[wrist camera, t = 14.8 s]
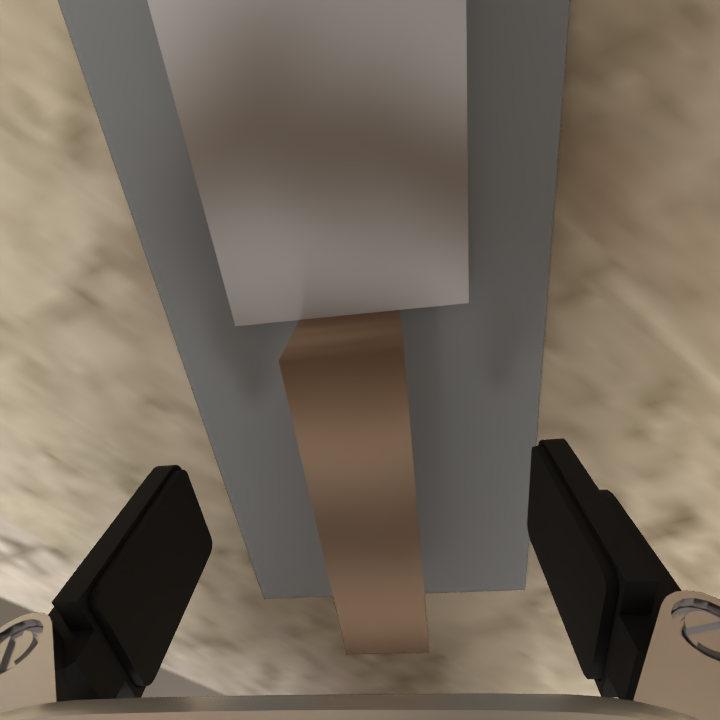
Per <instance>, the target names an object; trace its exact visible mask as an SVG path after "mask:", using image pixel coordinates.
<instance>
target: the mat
mask: <svg viewBox="0 0 720 720" xmlns="http://www.w3.org/2000/svg"><path fill="white" fill-rule="evenodd" d="M58 2H59V5H60V8H61V11H62V14H63V17H64V20H65V23H66V25H67V28H68V31H69V34H70V37H71V40H72V43H73V46H74V49H75V52H76V54H77V57H78V60H79V63H80V66H81V69H82V72H83V75H84V78H85V81H86V83H87V86H88V89H89V92H90V95H91V98H92V101H93V104H94V107H95V110H96V112H97V115H98V118H99V121H100V124H101V127H102V130H103V133H104V136H105V139H106V141H107V144H108V147H109V150H110V153H111V156H112V159H113V162H114V165H115V168H116V170H117V173H118V176H119V179H120V182H121V185H122V188H123V191H124V194H125V197H126V200H127V202H128V205H129V208H130V211H131V214H132V217H133V220H134V223H135V226H136V229H137V231H138V234H139V237H140V240H141V243H142V246H143V249H144V252H145V255H146V258H147V260H148V263H149V266H150V269H151V272H152V275H153V278H154V281H155V284H156V287H157V289H158V292H159V295H160V298H161V301H162V304H163V307H164V310H165V313H166V316H167V318H168V321H169V324H170V327H171V330H172V333H173V336H174V339H175V342H176V345H177V347H178V350H179V353H180V356H181V359H182V362H183V365H184V368H185V371H186V374H187V377H188V379H189V382H190V385H191V388H192V391H193V394H194V397H195V400H196V403H197V406H198V408H199V411H200V414H201V417H202V420H203V423H204V426H205V429H206V432H207V435H208V437H209V440H210V443H211V446H212V449H213V452H214V455H215V458H216V461H217V464H218V466H219V469H220V472H221V475H222V478H223V481H224V484H225V487H226V490H227V493H228V495H229V498H230V501H231V504H232V507H233V510H234V513H235V516H236V519H237V522H238V525H239V527H240V530H241V533H242V536H243V539H244V542H245V545H246V548H247V551H248V554H249V556H250V559H251V562H252V565H253V568H254V571H255V574H256V577H257V580H258V583H259V585H260V588H261V591H262V594H263V597H264V599H271V598H300V597H330V596H333V594H332V590H331V585H330V581H329V577H328V572H327V568H326V564H325V560H324V555H323V551H322V547H321V542H320V538H319V534H318V529H317V525H316V521H315V516H314V512H313V508H312V503H311V499H310V495H309V490H308V486H307V482H306V477H305V473H304V469H303V464H302V460H301V456H300V451H299V447H298V443H297V438H296V434H295V430H294V426H293V421H292V417H291V413H290V408H289V404H288V400H287V395H286V391H285V387H284V382H283V378H282V374H281V369H280V365H279V359H280V357H281V355H282V353H283V352H284V350H285V348H286V346H287V344H288V342H289V340H290V338H291V336H292V334H293V332H294V330H295V328H296V326H297V324H298V322H299V320H293V321H283V322H273V323H263V324H253V325H243V326H235V323H234V319H233V315H232V312H231V308H230V304H229V301H228V297H227V293H226V290H225V286H224V282H223V278H222V275H221V271H220V267H219V264H218V260H217V256H216V253H215V249H214V245H213V242H212V238H211V234H210V230H209V227H208V223H207V219H206V216H205V212H204V208H203V205H202V201H201V197H200V194H199V190H198V186H197V182H196V179H195V175H194V171H193V168H192V164H191V160H190V157H189V153H188V149H187V145H186V142H185V138H184V134H183V131H182V127H181V123H180V120H179V116H178V112H177V109H176V105H175V101H174V97H173V94H172V90H171V86H170V83H169V79H168V75H167V72H166V68H165V64H164V61H163V57H162V53H161V49H160V46H159V42H158V38H157V35H156V31H155V27H154V24H153V20H152V16H151V13H150V9H149V5H148V1H147V0H58ZM569 8H570V0H466V31H467V149H468V266H469V303H464V304H454V305H444V306H434V307H424V308H414V309H403V310H400V319H401V328H402V337H403V346H404V357H405V369H406V381H407V393H408V405H409V417H410V429H411V441H412V453H413V464H414V476H415V488H416V500H417V512H418V524H419V536H420V548H421V560H422V572H423V584H424V593H449V592H479V591H509V590H525V584H526V571H527V558H528V545H529V534H528V528H527V517H528V500H529V484H530V467H531V451H532V447H533V446H536V440H537V427H538V414H539V401H540V388H541V375H542V362H543V348H544V335H545V322H546V309H547V296H548V283H549V270H550V257H551V244H552V231H553V218H554V204H555V191H556V178H557V165H558V152H559V139H560V126H561V113H562V100H563V87H564V74H565V60H566V47H567V34H568V21H569Z"/></svg>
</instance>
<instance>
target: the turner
mask: <svg viewBox="0 0 720 720" xmlns="http://www.w3.org/2000/svg"><path fill="white" fill-rule="evenodd" d="M147 1H148V5H149V9H150V13H151V16H152V20H153V24H154V27H155V31H156V35H157V38H158V42H159V46H160V49H161V53H162V57H163V61H164V64H165V68H166V72H167V75H168V79H169V83H170V86H171V90H172V94H173V97H174V101H175V105H176V109H177V112H178V116H179V120H180V123H181V127H182V131H183V134H184V138H185V142H186V145H187V149H188V153H189V157H190V160H191V164H192V168H193V171H194V175H195V179H196V182H197V186H198V190H199V194H200V197H201V201H202V205H203V208H204V212H205V216H206V219H207V223H208V227H209V230H210V234H211V238H212V242H213V245H214V249H215V253H216V256H217V260H218V264H219V267H220V271H221V275H222V278H223V282H224V286H225V290H226V293H227V297H228V301H229V304H230V308H231V312H232V315H233V319H234V323H235V326H243V325H253V324H263V323H273V322H283V321H293V320H299V322H298V324H297V326H296V328H295V330H294V332H293V334H292V336H291V338H290V340H289V342H288V344H287V346H286V348H285V350H284V352H283V353H282V355H281V357H280V359H279V365H280V369H281V374H282V378H283V382H284V387H285V391H286V395H287V400H288V404H289V408H290V413H291V417H292V421H293V426H294V430H295V434H296V438H297V443H298V447H299V451H300V456H301V460H302V464H303V469H304V473H305V477H306V482H307V486H308V490H309V495H310V499H311V503H312V508H313V512H314V516H315V521H316V525H317V529H318V534H319V538H320V542H321V547H322V551H323V555H324V560H325V564H326V568H327V572H328V577H329V581H330V585H331V590H332V594H333V598H334V603H335V607H336V611H337V616H338V620H339V624H340V629H341V633H342V637H343V642H344V646H345V650H346V655H347V654H399V653H429V643H428V631H427V619H426V608H425V596H424V584H423V572H422V560H421V548H420V536H419V524H418V512H417V500H416V488H415V476H414V464H413V453H412V441H411V429H410V417H409V405H408V393H407V381H406V369H405V357H404V346H403V337H402V328H401V319H400V310H403V309H414V308H424V307H434V306H444V305H454V304H464V303H469V266H468V149H467V31H466V0H147Z"/></svg>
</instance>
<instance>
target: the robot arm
mask: <svg viewBox="0 0 720 720" xmlns="http://www.w3.org/2000/svg"><path fill="white" fill-rule="evenodd" d="M527 528H528V534H529V537H530V540H531V543H532V545H533V548H534V550H535V553H536V555H537V558H538V560H539V563H540V565H541V568H542V570H543V573H544V575H545V578H546V580H547V583H548V585H549V588H550V591H551V593H552V596H553V598H554V601H555V603H556V606H557V608H558V611H559V613H560V616H561V618H562V621H563V623H564V626H565V628H566V631H567V633H568V636H569V638H570V641H571V644H572V646H573V649H574V651H575V654H576V656H577V659H578V661H579V664H580V666H581V669H582V671H583V673H584V675H585V677H586V678H587V679H594V680H595V682H596V685H597V687H598V689H599V692H600V694H601V697H598V696H583V695H567V694H350V695H267V696H211V697H210V696H205V697H155V698H153V697H151V698H141V696H142V694H143V692H144V689H145V687H146V686H148V685H150V684H151V683H152V682H153V680H154V678H155V677H156V675H157V672H158V670H159V668H160V666H161V663H162V661H163V659H164V657H165V654H166V652H167V650H168V648H169V645H170V643H171V641H172V639H173V636H174V634H175V632H176V630H177V628H178V625H179V623H180V621H181V619H182V616H183V614H184V612H185V610H186V607H187V605H188V603H189V601H190V598H191V596H192V594H193V592H194V589H195V587H196V585H197V583H198V580H199V578H200V576H201V574H202V571H203V569H204V567H205V565H206V563H207V560H208V558H209V556H210V553H211V550H212V539H211V536H210V533H209V530H208V528H207V525H206V522H205V520H204V517H203V514H202V512H201V509H200V506H199V503H198V501H197V498H196V495H195V493H194V490H193V487H192V484H191V482H190V479H189V476H188V474H187V472H186V471H185V470H182V469H181V467H179V466H178V465H170V466H157V467H155V468H154V469H153V470H152V471H151V473H150V474H149V475H148V476H147V478H146V479H145V480H144V482H143V483H142V484H141V486H140V487H139V488H138V490H137V491H136V492H135V494H134V495H133V496H132V497H131V499H130V500H129V501H128V503H127V504H126V505H125V507H124V508H123V509H122V511H121V512H120V513H119V515H118V516H117V517H116V519H115V520H114V521H113V522H112V524H111V525H110V526H109V528H108V529H107V530H106V532H105V533H104V534H103V536H102V537H101V538H100V540H99V541H98V542H97V543H96V545H95V546H94V547H93V549H92V550H91V551H90V553H89V554H88V555H87V557H86V558H85V559H84V561H83V562H82V563H81V564H80V566H79V567H78V568H77V570H76V571H75V572H74V574H73V575H72V576H71V578H70V579H69V580H68V582H67V583H66V584H65V586H64V587H63V588H62V589H61V591H60V592H59V593H58V595H57V596H56V597H55V599H54V600H53V601H52V604H53V605H54V608H53V609H52V610H51V612H50V613H49V614H48V615H46V614H45V613H37V612H34V613H30V614H26V615H23V616H21V617H18V618H16V619H14V620H12V621H10V622H9V623H7V624H6V625H4V626H2V627H1V628H0V720H720V599H718V598H716V597H713V596H710V595H707V594H704V593H702V592H695V591H688V590H686V591H681V589H680V588H679V586H678V585H677V584H676V582H675V581H674V579H673V578H672V576H671V575H670V574H669V572H668V571H667V569H666V568H665V567H664V565H663V564H662V562H661V561H660V559H659V558H658V557H657V555H656V554H655V552H654V551H653V550H652V548H651V547H650V545H649V544H648V542H647V541H646V540H645V538H644V537H643V535H642V534H641V533H640V531H639V530H638V528H637V527H636V525H635V524H634V523H633V521H632V520H631V518H630V517H629V516H628V514H627V513H626V511H625V510H624V508H623V507H622V506H621V504H620V503H619V501H618V500H617V499H616V497H615V496H614V495H613V494H612V493H611V492H610V491H608V490H599V489H598V487H597V486H596V484H595V483H594V481H593V480H592V478H591V477H590V475H589V474H588V473H587V471H586V470H585V468H584V467H583V465H582V464H581V462H580V461H579V459H578V458H577V456H576V455H575V453H574V452H573V450H572V449H571V447H570V446H569V444H568V443H567V441H566V440H565V439H550V440H541V441H540V442H539V445H538V446H533V447H532V451H531V467H530V484H529V500H528V517H527ZM611 697H618V698H619V699H618V698H611Z"/></svg>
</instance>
